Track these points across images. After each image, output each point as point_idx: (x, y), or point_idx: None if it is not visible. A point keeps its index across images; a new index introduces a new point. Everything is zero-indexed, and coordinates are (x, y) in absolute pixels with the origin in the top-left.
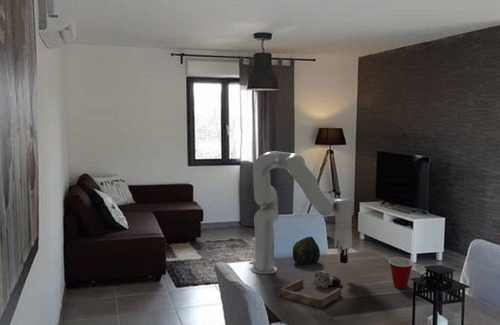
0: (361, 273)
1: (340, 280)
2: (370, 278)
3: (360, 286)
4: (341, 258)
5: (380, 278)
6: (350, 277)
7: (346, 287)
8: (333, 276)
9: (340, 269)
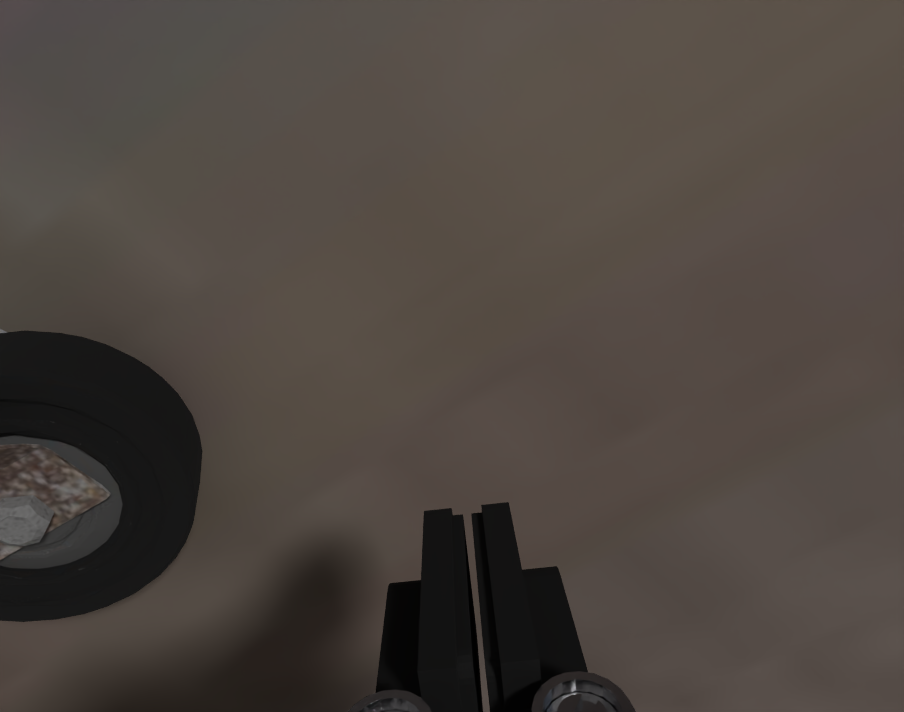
0: (837, 463)
1: (111, 602)
2: (699, 635)
3: (342, 696)
4: (387, 644)
5: (774, 702)
6: (563, 452)
7: (174, 618)
8: (21, 544)
9: (854, 103)
